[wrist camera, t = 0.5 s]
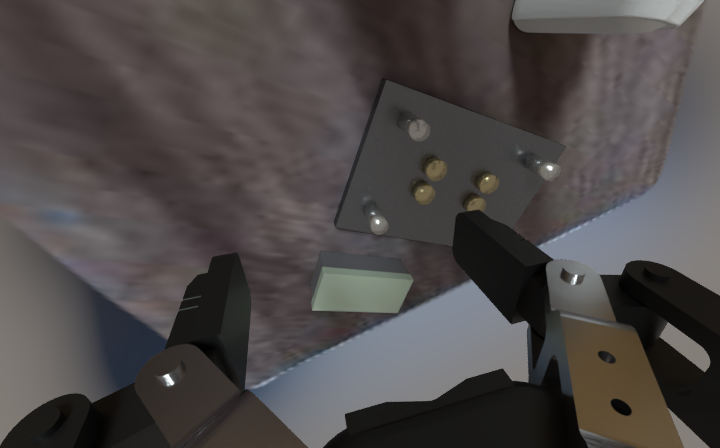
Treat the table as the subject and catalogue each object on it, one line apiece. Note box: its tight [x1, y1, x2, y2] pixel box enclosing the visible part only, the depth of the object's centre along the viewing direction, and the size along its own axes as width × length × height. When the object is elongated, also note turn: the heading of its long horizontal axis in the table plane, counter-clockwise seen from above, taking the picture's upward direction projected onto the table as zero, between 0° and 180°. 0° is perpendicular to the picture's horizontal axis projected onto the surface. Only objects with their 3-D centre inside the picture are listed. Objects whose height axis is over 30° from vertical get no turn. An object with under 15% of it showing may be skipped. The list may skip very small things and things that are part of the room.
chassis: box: [334, 78, 566, 246], centre depth 31 cm, size 14×21×4 cm, turn 71°
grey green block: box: [311, 251, 414, 313], centre depth 34 cm, size 5×10×4 cm, turn 72°
